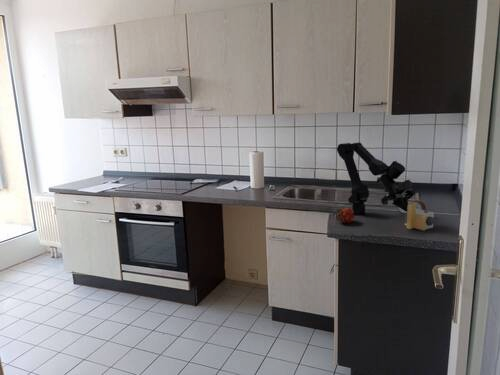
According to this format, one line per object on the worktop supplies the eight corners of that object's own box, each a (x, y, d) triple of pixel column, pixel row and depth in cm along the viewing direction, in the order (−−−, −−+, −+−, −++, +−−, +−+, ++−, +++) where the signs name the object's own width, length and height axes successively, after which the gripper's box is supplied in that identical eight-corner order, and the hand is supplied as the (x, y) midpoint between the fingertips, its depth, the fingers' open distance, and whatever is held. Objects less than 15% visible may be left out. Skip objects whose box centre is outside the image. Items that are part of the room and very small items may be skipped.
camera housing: (404, 224, 184) (405, 209, 183) (414, 222, 188) (415, 207, 186) (425, 230, 175) (426, 214, 173) (435, 227, 178) (436, 211, 177)
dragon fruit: (337, 228, 188) (349, 226, 197) (350, 220, 183) (362, 218, 192) (329, 213, 191) (341, 211, 200) (342, 204, 186) (354, 203, 194)
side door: (406, 227, 179) (407, 204, 177) (411, 226, 180) (412, 203, 178) (420, 231, 173) (421, 207, 170) (425, 230, 174) (426, 206, 172)
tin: (425, 217, 196) (426, 200, 194) (422, 218, 194) (423, 201, 192) (399, 211, 208) (400, 196, 206) (396, 212, 206) (396, 197, 204)
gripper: (386, 177, 175) (406, 205, 168) (413, 172, 184) (433, 198, 177) (372, 191, 183) (391, 218, 176) (399, 186, 192) (417, 212, 185)
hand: (408, 211), depth 178 cm, fingers closed, pressing on side door
